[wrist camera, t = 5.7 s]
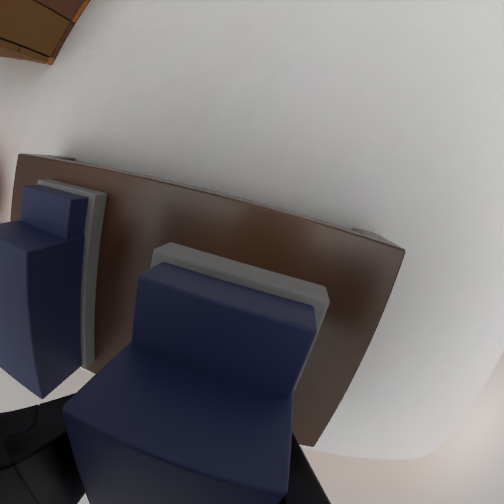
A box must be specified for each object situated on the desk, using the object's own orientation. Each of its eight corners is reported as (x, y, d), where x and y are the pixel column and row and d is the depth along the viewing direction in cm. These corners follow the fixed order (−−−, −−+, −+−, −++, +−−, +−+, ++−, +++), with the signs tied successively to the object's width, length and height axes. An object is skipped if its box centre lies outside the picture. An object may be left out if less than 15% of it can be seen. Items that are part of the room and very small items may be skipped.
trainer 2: (240, 488, 9) (217, 578, 5) (145, 456, 9) (98, 535, 5) (327, 285, 7) (362, 412, 3) (169, 240, 7) (37, 299, 3)
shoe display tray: (380, 235, 15) (406, 250, 11) (312, 403, 17) (313, 447, 13) (61, 155, 16) (18, 153, 12) (48, 305, 19) (13, 323, 15)
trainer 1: (95, 361, 14) (46, 405, 10) (45, 332, 14) (-6, 365, 10) (108, 193, 12) (34, 199, 8) (50, 179, 12) (-19, 182, 8)
